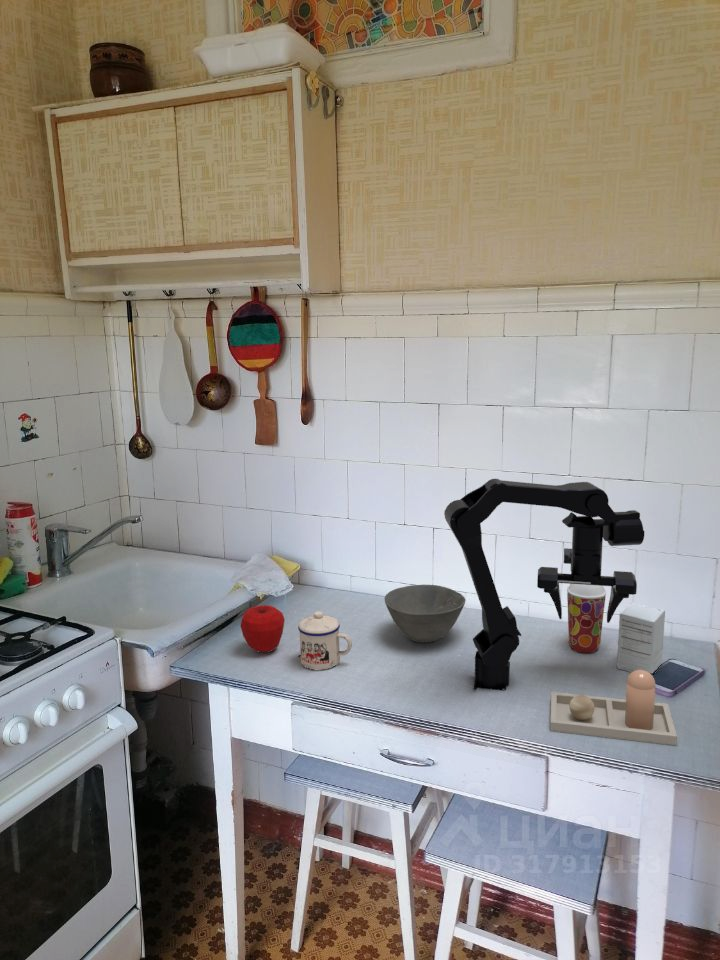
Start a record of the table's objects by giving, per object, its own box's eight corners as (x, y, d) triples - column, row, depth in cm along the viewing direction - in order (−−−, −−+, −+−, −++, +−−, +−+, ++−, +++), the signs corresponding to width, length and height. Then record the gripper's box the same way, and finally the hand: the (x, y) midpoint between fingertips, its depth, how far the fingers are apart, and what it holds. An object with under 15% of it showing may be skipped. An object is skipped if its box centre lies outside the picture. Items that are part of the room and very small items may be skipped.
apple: (235, 656, 163) (232, 611, 161) (254, 639, 172) (251, 596, 170) (275, 662, 160) (272, 616, 158) (292, 643, 169) (290, 600, 166)
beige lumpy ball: (569, 723, 132) (570, 701, 131) (568, 710, 136) (569, 689, 135) (594, 725, 131) (595, 703, 130) (593, 713, 135) (594, 691, 134)
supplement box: (627, 655, 158) (631, 601, 156) (662, 665, 154) (666, 609, 151) (615, 668, 153) (618, 612, 150) (651, 678, 148) (655, 621, 145)
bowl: (478, 649, 163) (478, 607, 161) (398, 660, 159) (397, 618, 157) (448, 617, 181) (448, 579, 179) (376, 627, 177) (375, 588, 175)
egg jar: (621, 726, 130) (624, 673, 128) (628, 714, 134) (631, 662, 132) (649, 733, 127) (652, 679, 125) (655, 721, 131) (658, 668, 129)
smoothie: (581, 636, 168) (585, 555, 164) (611, 649, 161) (615, 564, 157) (557, 646, 164) (559, 562, 159) (586, 659, 157) (590, 572, 153)
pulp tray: (550, 733, 130) (550, 722, 129) (550, 702, 140) (551, 691, 139) (676, 748, 124) (677, 736, 124) (667, 715, 134) (667, 703, 134)
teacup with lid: (293, 668, 157) (290, 618, 154) (309, 650, 165) (307, 602, 163) (345, 675, 153) (343, 624, 150) (359, 657, 161) (357, 608, 159)
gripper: (633, 537, 148) (629, 608, 151) (539, 532, 153) (537, 601, 156) (638, 554, 137) (634, 630, 141) (538, 548, 142) (536, 622, 145)
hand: (584, 620), depth 146 cm, fingers open, 9 cm apart
